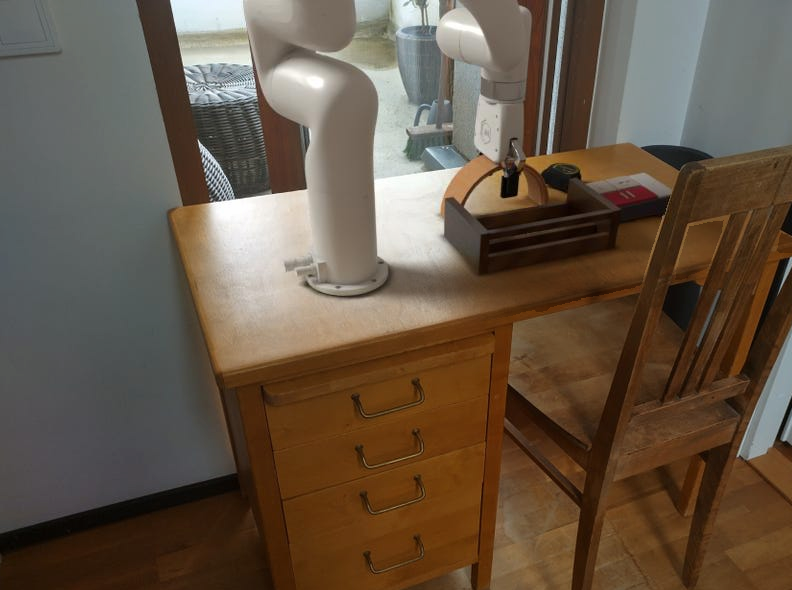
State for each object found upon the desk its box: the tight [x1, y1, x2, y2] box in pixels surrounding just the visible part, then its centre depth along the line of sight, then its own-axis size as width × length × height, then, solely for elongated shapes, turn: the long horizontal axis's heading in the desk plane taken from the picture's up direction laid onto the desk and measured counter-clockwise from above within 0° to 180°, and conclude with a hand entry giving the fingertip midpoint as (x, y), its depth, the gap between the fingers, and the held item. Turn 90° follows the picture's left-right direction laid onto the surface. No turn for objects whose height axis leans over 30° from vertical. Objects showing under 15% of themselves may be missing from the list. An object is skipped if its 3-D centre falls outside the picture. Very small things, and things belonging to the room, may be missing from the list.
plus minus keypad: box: [585, 172, 673, 224], centre depth 133 cm, size 11×4×15 cm
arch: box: [439, 155, 550, 219], centre depth 128 cm, size 6×20×10 cm, turn 119°
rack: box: [443, 178, 621, 275], centre depth 120 cm, size 26×14×7 cm, turn 114°
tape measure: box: [540, 162, 582, 192], centre depth 140 cm, size 7×7×4 cm
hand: (496, 186), depth 128 cm, fingers open, 9 cm apart
